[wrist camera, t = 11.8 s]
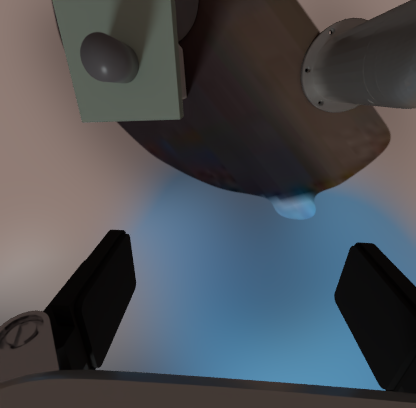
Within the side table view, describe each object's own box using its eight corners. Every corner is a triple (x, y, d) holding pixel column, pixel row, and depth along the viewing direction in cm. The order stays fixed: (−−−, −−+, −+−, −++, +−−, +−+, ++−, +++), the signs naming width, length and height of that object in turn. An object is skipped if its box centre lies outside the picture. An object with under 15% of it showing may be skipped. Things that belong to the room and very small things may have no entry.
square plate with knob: (175, 1, 22) (158, -34, 16) (183, 116, 26) (172, 124, 20) (69, 7, 22) (14, -24, 16) (94, 119, 26) (57, 128, 20)
